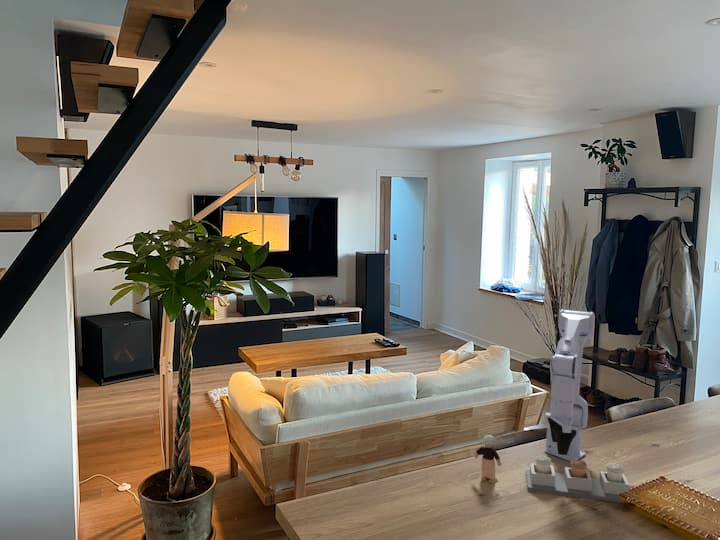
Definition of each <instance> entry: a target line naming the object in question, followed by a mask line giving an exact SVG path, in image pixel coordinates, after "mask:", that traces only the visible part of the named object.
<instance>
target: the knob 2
mask: <svg viewBox="0 0 720 540" xmlns="http://www.w3.org/2000/svg"><path fill="white" fill-rule="evenodd" d="M606 470H607V471H606V472H607V480H608V481H612V482H620V483H621V482H622V474H623V473H624V467H623V466H622V465H621V464H617V463H607V464H606Z"/></svg>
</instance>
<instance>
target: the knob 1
mask: <svg viewBox="0 0 720 540" xmlns="http://www.w3.org/2000/svg"><path fill="white" fill-rule="evenodd" d="M534 460H535V464H536V472H537V473H545V474H549V473H550V465H551V464H552V459H551V458H550V457H548V456H547V455H536V456H535V459H534Z"/></svg>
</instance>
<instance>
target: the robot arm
mask: <svg viewBox="0 0 720 540" xmlns="http://www.w3.org/2000/svg"><path fill="white" fill-rule="evenodd" d="M595 316H596V315H595V313H594V312H593V311H583V310H582V311H579V310H573V309H564V308H561V309H560V310H559V312H558V317H557V325H558V326H557V327H558V330H559V331H558V332H559V333H560V336H561V337H562V338H560V339H559V340H558V342H557V345H556V349H555V350H556V351H555V353H554V355H551V357H550V362H549V371H550V382H551V387H550V388H551V389H550V406H549V407H550V408H549V409H550V410H549V412H545V415H544V416H545V418H547V421H548V426H547V428H546V429H547V430H546V438H545V439H546V443H545V450H544V452H545V453H547V454H550V455H552V456H555V457H557V458H560V459H563V460H566V461H568V462H571V460H575V459H576V460H581V458H582V457H584V456H586V452H585V451H581V446H582V444H581V443H582V429H585V428H587V425H588V417H589V416H588V415H589V409H588V408H589V407H588V406H589V404H588V402H587V401H586V400H585V398H584V397H582V396H581V395H580V387H581V377H582V367H583V366H582V364H583V353H584V347H585V344H586V342H587V341H591V340H593V337H594V329H595Z"/></svg>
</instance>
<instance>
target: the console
mask: <svg viewBox="0 0 720 540" xmlns="http://www.w3.org/2000/svg"><path fill="white" fill-rule="evenodd" d="M529 465H530V466H529V469H525V478H526V486H527V487H526V488H527V491H528V492H534V493H542V494H543V493H544V494H550V495H558V496H567V497H574V498H583V499H589V500H591V499H592V500H598V501H604V502H605V501H607V502H614V503H621V504H623V503H622V502H623V501H622V499H621V498H620V497H619V494H620V493H624V492H627V491H629V489H630V487H631V486H630V484H629V483H630V482H629V481H628V479H627V477H626V475H625V473H622V482H621V483H620V482H612V481H608V480H607V471H601V470H600V471H599V477H592V476H591V474H590V470H589V469H586V472H585V478H578V477H573V476H571V467H568V466H564V472H563V473H559V472H555V467H554V465H551V464H550V473H549V474H545V473H537V472H536V463H533V462H532V463H530V464H529Z"/></svg>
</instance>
